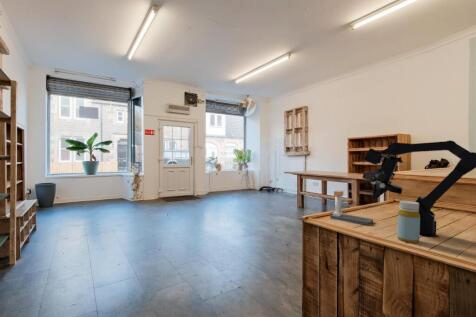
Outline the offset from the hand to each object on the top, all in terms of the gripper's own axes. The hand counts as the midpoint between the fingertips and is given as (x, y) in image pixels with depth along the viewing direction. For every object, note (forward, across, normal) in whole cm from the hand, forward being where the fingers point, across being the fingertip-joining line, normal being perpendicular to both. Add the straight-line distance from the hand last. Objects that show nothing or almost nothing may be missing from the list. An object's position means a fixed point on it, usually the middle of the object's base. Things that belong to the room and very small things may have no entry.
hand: (374, 199), depth 115 cm
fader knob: (+16, -11, -6) cm, 20 cm away
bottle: (+7, +24, -2) cm, 25 cm away
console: (+15, -5, -3) cm, 16 cm away
